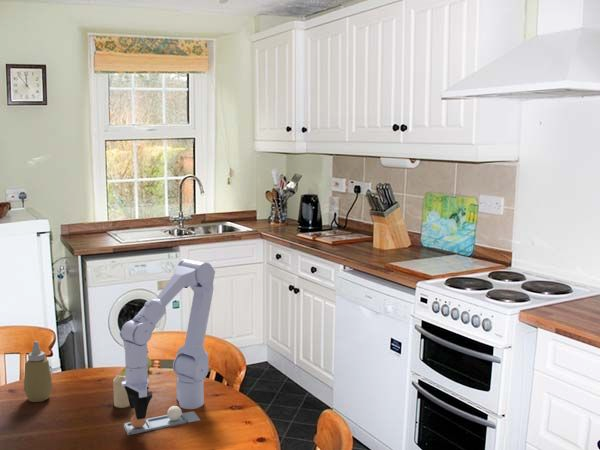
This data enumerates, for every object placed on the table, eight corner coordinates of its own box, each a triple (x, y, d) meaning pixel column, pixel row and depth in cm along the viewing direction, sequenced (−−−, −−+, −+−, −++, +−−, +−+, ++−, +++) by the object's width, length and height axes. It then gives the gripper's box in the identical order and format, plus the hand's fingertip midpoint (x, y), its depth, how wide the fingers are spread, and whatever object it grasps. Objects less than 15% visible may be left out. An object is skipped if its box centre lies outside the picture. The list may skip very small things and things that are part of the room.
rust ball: (129, 425, 170) (128, 412, 170) (143, 422, 172) (143, 409, 172) (132, 432, 167) (132, 418, 166) (147, 428, 169) (147, 415, 168)
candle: (135, 402, 187) (134, 371, 186) (130, 410, 182) (129, 378, 181) (116, 402, 187) (115, 371, 186) (111, 410, 182) (110, 378, 180)
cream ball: (165, 418, 175) (165, 405, 174) (179, 415, 177) (179, 402, 176) (169, 424, 171) (169, 410, 171) (183, 421, 173) (183, 407, 173)
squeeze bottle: (53, 402, 187) (50, 344, 185) (23, 406, 184) (20, 347, 182) (53, 391, 195) (50, 336, 192) (24, 395, 192) (21, 339, 189)
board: (123, 428, 171) (123, 423, 171) (193, 414, 180) (193, 409, 180) (128, 438, 165) (128, 433, 165) (200, 423, 174) (200, 418, 174)
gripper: (115, 358, 171) (117, 405, 173) (127, 376, 159) (128, 426, 161) (141, 354, 175) (142, 400, 177) (154, 372, 162) (155, 421, 164)
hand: (137, 412), depth 169 cm, fingers open, 7 cm apart
